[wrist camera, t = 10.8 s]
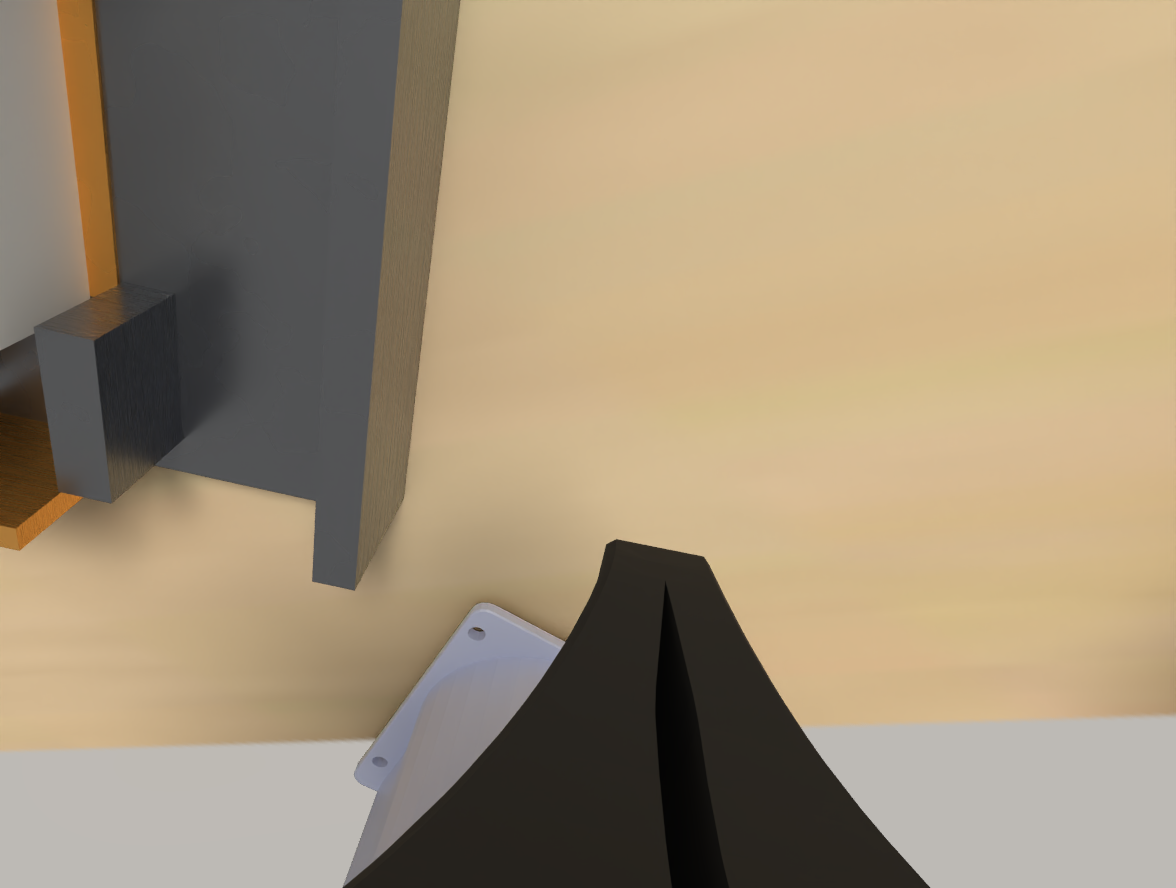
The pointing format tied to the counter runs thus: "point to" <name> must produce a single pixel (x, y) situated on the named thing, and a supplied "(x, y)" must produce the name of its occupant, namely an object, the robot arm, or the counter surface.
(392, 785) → the robot arm
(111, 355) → the rack
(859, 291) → the counter surface
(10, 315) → the white rectangular block
